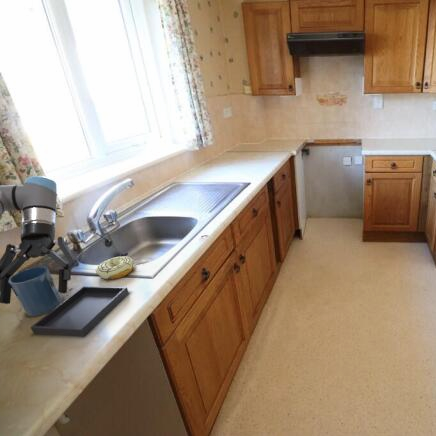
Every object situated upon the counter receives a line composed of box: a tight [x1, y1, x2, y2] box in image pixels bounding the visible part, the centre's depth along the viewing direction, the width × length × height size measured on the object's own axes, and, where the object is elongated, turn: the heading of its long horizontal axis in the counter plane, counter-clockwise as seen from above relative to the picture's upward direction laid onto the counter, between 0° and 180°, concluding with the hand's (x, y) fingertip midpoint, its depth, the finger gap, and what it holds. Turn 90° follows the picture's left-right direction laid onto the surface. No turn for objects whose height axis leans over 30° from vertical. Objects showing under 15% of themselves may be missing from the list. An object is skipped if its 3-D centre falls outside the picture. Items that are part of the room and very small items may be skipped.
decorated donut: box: [95, 255, 134, 281], centre depth 106 cm, size 10×11×4 cm
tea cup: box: [8, 265, 64, 317], centre depth 90 cm, size 8×8×11 cm
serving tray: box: [29, 285, 130, 338], centre depth 89 cm, size 17×14×2 cm
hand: (34, 297), depth 89 cm, fingers open, 13 cm apart
